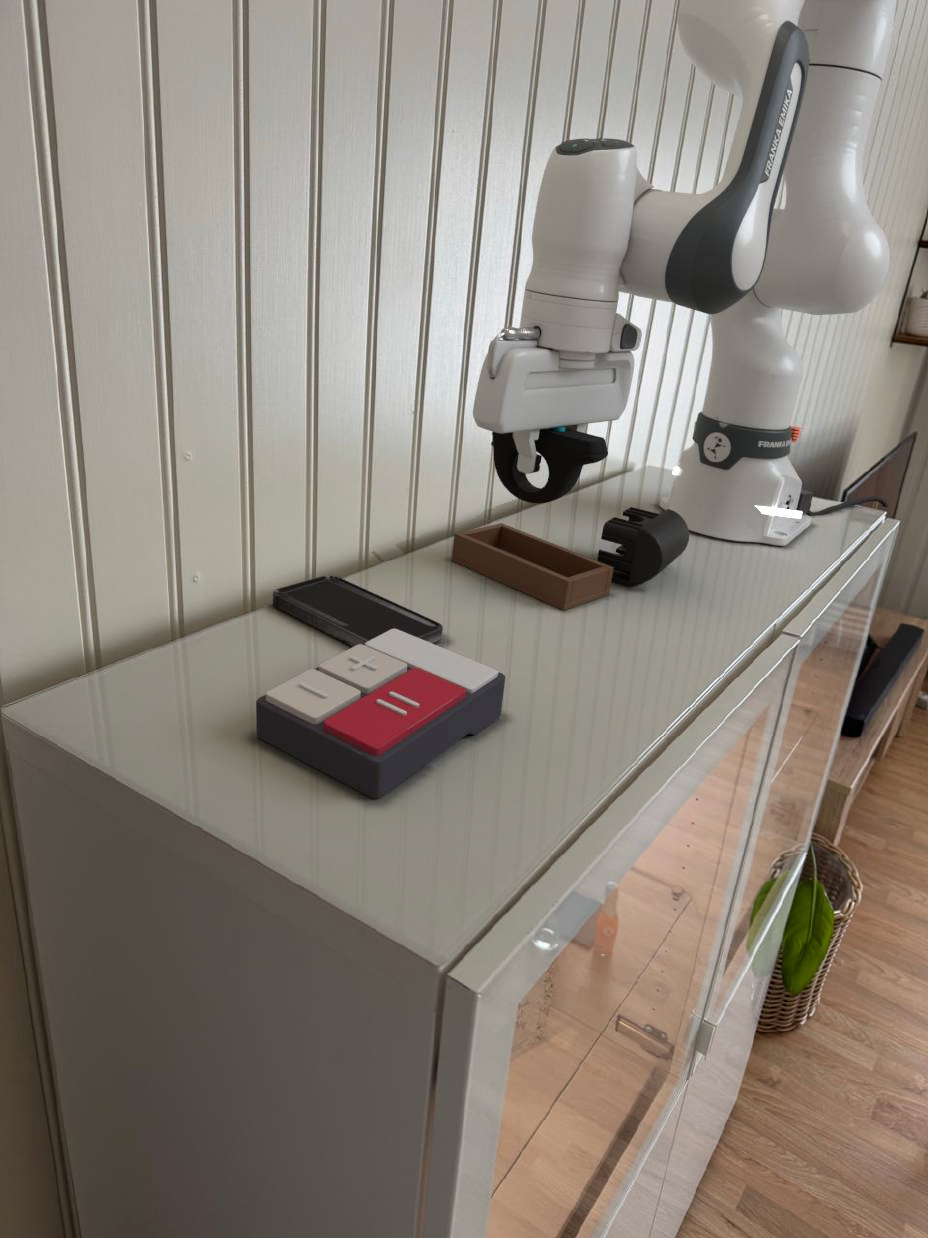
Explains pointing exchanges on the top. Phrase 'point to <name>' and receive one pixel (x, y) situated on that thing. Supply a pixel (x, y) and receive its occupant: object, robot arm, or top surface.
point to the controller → (561, 455)
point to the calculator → (380, 710)
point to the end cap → (643, 544)
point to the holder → (532, 565)
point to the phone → (351, 611)
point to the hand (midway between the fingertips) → (544, 469)
